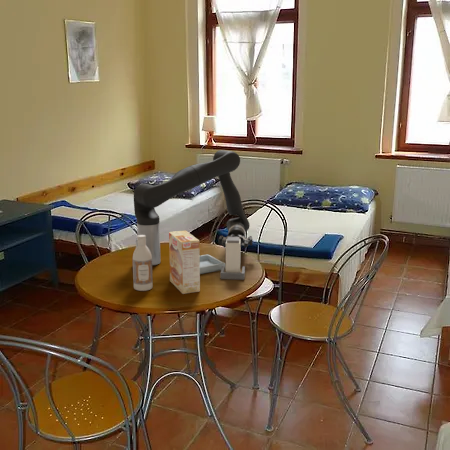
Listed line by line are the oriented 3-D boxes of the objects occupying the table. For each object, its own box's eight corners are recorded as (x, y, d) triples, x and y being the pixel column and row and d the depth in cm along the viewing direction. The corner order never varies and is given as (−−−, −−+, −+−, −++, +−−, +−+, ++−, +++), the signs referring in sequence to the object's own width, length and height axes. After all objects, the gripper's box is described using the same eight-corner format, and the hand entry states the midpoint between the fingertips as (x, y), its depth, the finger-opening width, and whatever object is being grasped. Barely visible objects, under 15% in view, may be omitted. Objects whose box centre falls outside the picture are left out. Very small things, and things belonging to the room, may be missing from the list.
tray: (194, 275, 215) (194, 268, 215) (178, 265, 227) (178, 259, 226) (225, 269, 223) (225, 263, 222) (208, 260, 234) (208, 254, 233)
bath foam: (134, 292, 198) (132, 238, 193) (133, 285, 204) (131, 233, 199) (153, 290, 199) (152, 237, 194) (151, 284, 206) (150, 232, 201)
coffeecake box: (169, 280, 209) (168, 231, 204) (186, 278, 212) (186, 229, 207) (182, 294, 196) (181, 242, 191) (200, 291, 199) (200, 240, 194)
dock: (244, 279, 211) (244, 273, 210) (220, 279, 212) (220, 272, 211) (244, 272, 219) (244, 266, 219) (222, 271, 220) (222, 265, 219)
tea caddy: (239, 277, 213) (240, 240, 209) (225, 277, 213) (225, 240, 209) (240, 272, 219) (240, 236, 215) (226, 272, 219) (226, 236, 215)
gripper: (220, 226, 240) (217, 236, 224) (252, 226, 239) (252, 237, 223) (220, 242, 241) (217, 253, 226) (252, 243, 241) (252, 254, 225)
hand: (234, 245), depth 224 cm, fingers open, 8 cm apart
